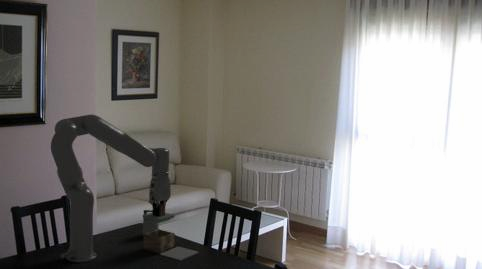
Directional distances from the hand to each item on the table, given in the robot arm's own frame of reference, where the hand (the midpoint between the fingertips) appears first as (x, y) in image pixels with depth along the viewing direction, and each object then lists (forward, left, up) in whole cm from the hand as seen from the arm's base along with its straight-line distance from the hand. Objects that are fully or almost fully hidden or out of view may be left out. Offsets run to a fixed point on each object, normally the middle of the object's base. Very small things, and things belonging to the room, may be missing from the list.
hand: (158, 214), depth 253 cm
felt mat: (0, -12, -16) cm, 20 cm away
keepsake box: (0, 0, -16) cm, 16 cm away
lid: (0, 0, -1) cm, 1 cm away
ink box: (+12, +16, -16) cm, 26 cm away
